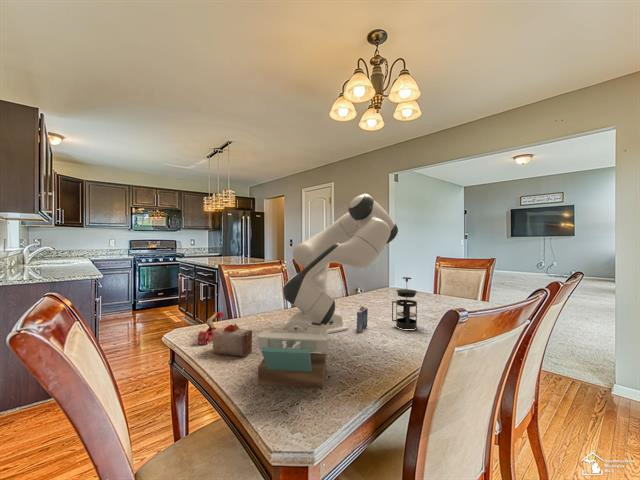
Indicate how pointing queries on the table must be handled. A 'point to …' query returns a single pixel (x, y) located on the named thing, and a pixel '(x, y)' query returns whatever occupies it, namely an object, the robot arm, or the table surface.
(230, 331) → the grey paint-stained brick
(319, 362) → the brown wooden block
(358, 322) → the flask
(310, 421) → the table surface
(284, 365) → the teal rectangular block
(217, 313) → the toy fire truck
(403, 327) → the french press
